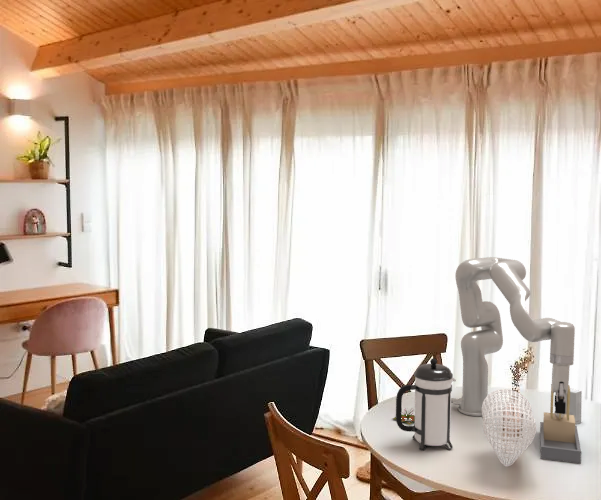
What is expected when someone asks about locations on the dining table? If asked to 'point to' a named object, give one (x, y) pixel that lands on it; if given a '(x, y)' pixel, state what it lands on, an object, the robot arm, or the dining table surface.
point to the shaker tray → (560, 449)
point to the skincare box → (575, 404)
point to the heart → (530, 426)
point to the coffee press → (429, 405)
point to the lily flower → (407, 417)
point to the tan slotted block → (567, 404)
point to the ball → (558, 415)
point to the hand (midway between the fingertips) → (559, 409)
